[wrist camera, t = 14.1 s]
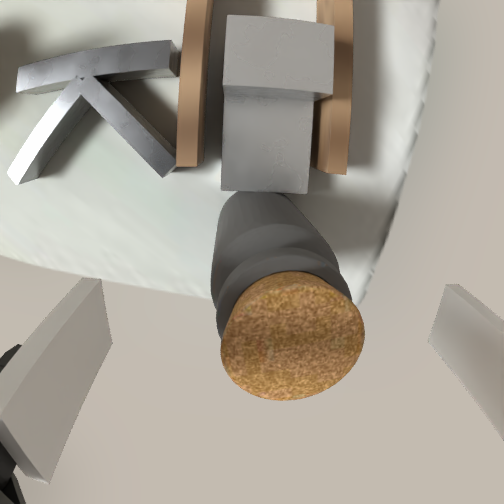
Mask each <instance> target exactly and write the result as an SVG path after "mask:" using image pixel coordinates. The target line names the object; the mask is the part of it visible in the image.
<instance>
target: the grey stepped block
mask: <svg viewBox="0 0 504 504" xmlns="http://www.w3.org/2000/svg"><path fill="white" fill-rule="evenodd" d="M333 74H334V26H332V25H327V24H321V23H315V22H308V21H301V20H294V19H285V18H275V17H264V16H248V15H227V25H226V39H225V54H224V71H223V90H224V116H223V140H222V168H221V191H253V192H277V193H297V194H307V192H308V180H309V167H310V153H311V137H312V120H313V102H314V101H317V100H319V99H322V98H325V97H327V96H330V95H332V94H333Z"/></svg>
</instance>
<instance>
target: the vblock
mask: <svg viewBox="0 0 504 504" xmlns="http://www.w3.org/2000/svg"><path fill="white" fill-rule="evenodd" d="M177 65H178V50H177V48H176V47H175V45H174V44H173V42H172V41H171V40H164V41H151V42H140V43H131V44H123V45H116V46H109V47H102V48H96V49H91V50H85V51H80V52H75V53H71V54H66V55H62V56H57V57H53V58H49V59H45V60H42V61H38V62H34V63H31V64H27V65H24V66H21V67H18V76H17V86H16V92H18V93H27V94H35V95H37V94H42V93H47V92H51V91H56V90H61V89H64V90H63V91H62V93H61V94H60V95H59V97H58V98H57V99H56V100H55V102H54V103H53V104H52V106H51V107H50V108H49V110H48V111H47V112H46V114H45V115H44V116H43V118H42V119H41V121H40V122H39V124H38V125H37V126H36V128H35V129H34V131H33V132H32V134H31V135H30V137H29V138H28V140H27V141H26V143H25V144H24V146H23V148H22V149H21V151H20V152H19V154H18V156H17V157H16V159H15V161H14V162H13V164H12V166H11V167H10V169H9V171H8V174H9V176H10V177H11V178H12V179H13V181H14V182H15V183H16V184H17V185H18V184H22V183H25V182H28V181H31V180H34V179H37V178H38V177H39V175H40V174H41V172H42V171H43V169H44V168H45V166H46V165H47V163H48V162H49V160H50V159H51V157H52V156H53V155H54V153H55V152H56V150H57V149H58V148H59V146H60V145H61V144H62V142H63V141H64V140H65V138H66V137H67V136H68V134H69V133H70V132H71V131H72V129H73V128H74V127H75V125H76V124H77V123H78V122H79V120H80V119H81V118H82V117H83V116H84V114H85V113H86V112H87V111H88V110H89V108H90V107H91V106H93V107H94V108H95V109H96V110H97V111H98V112H99V113H100V114H101V116H102V117H103V118H104V119H105V120H106V121H107V122H108V123H109V124H110V125H111V126H112V127H113V128H114V129H115V130H116V131H117V132H118V133H119V134H120V135H121V136H122V137H123V138H124V139H125V140H126V141H127V142H128V143H129V144H130V145H131V146H132V147H133V148H134V149H135V150H136V151H137V152H138V154H139V155H140V156H141V157H142V158H143V159H144V160H145V161H146V162H147V163H148V164H149V165H150V166H151V167H152V168H153V169H154V170H155V171H156V172H157V173H158V174H159V175H160V176H161V177H162V178H163V177H165V176H166V175H168V174H170V173H171V172H172V171H173V170H174V169H175V168H176V149H175V148H174V147H173V146H172V145H171V144H170V143H169V142H168V141H167V140H166V139H165V138H164V137H163V136H162V135H161V134H160V133H159V132H158V131H157V130H156V129H155V128H154V127H153V126H152V125H151V124H150V123H149V122H148V121H147V120H146V119H145V118H144V117H143V116H142V115H141V114H140V113H139V112H138V111H137V110H136V109H135V108H134V107H133V106H132V105H131V104H130V103H129V102H128V101H127V100H126V99H125V98H124V97H123V96H122V95H121V94H120V93H119V92H118V91H117V90H116V89H115V88H114V87H113V86H112V85H111V84H110V83H109V82H114V81H124V80H134V79H147V78H163V77H177Z"/></svg>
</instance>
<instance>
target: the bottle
mask: <svg viewBox="0 0 504 504" xmlns="http://www.w3.org/2000/svg"><path fill="white" fill-rule="evenodd" d="M211 295H212V299H213V303H214V306H215V308H216V310H217V312H216V313H217V314H216V322H217V329H218V333H219V336H220V338H221V359H222V363H223V366H224V368H225V370H226V372H227V374H228V375H229V377H230V378H231V379H232V381H233V382H235V383H236V384H237V385H238V386H239V387H240V388H242V389H243V390H245V391H247V392H248V393H250V394H253V395H255V396H258V397H260V398H265V399H270V400H280V401H283V400H296V399H302V398H306V397H309V396H313V395H315V394H318V393H320V392H322V391H324V390H326V389H328V388H330V387H331V386H333V385H334V384H336V383H337V382H338V381H340V380H341V379H342V378H343V377H344V376H345V375H346V374H347V373H348V372H349V371H350V370H351V368H352V367H353V366H354V365H355V363H356V361H357V359H358V357H359V355H360V353H361V351H362V347H363V343H364V338H365V337H364V336H365V330H364V323H363V320H362V317H361V315H360V312H359V310H358V309H357V307H356V306H355V305H354V303H353V302H352V297H351V294H350V291H349V288H348V285H347V283H346V282H345V280H344V278H343V277H342V275H341V274H340V271H339V266H338V262H337V259H336V257H335V255H334V253H333V251H332V250H331V248H330V246H329V245H328V244H327V242H326V241H325V240H324V239H323V237H322V236H321V235H320V234H319V232H318V231H317V230H316V229H315V228H314V227H313V225H312V224H311V223H310V222H309V221H308V220H307V219H306V217H305V216H304V215H303V214H302V213H301V212H300V211H299V210H298V209H297V207H296V206H295V205H294V204H293V203H292V202H291V201H290V200H289V199H288V198H287V197H286V196H285V195H284V194H282V193H277V192H253V191H238V192H236V193H235V194H234V195H232V196H231V197H230V198H229V199H228V200H227V202H226V203H225V204H224V206H223V208H222V211H221V213H220V217H219V221H218V227H217V233H216V240H215V247H214V254H213V262H212V271H211Z"/></svg>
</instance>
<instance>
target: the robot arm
mask: <svg viewBox="0 0 504 504" xmlns="http://www.w3.org/2000/svg"><path fill="white" fill-rule="evenodd" d="M428 342H429V344H430V345H431V346H432V347H433V348H434V350H435V351H436V352H437V353H438V354H439V356H440V357H441V358H442V359H443V361H444V362H445V363H446V364H447V366H448V367H449V368H450V369H451V371H452V372H453V373H454V374H455V376H456V377H457V378H458V379H459V381H460V382H461V383H462V385H463V386H464V387H465V388H466V390H467V391H468V392H469V394H470V395H471V396H472V398H473V399H474V400H475V401H476V403H477V404H478V406H479V407H480V408H481V410H482V411H483V412H484V414H485V415H486V416H487V418H488V419H489V421H490V422H491V423H492V425H493V426H494V428H495V429H496V430H497V432H498V433H499V435H500V436H501V438H502V439H503V440H504V321H503V320H502V319H501V318H500V317H499V316H498V315H496V314H495V313H494V312H492V311H491V310H490V309H489V308H488V307H487V306H485V305H484V304H483V303H482V302H480V301H479V300H478V299H477V298H476V297H474V296H473V295H472V294H471V293H469V292H468V291H467V290H465V289H464V288H463V287H462V286H460V285H459V284H450V285H445V289H444V293H443V296H442V299H441V303H440V306H439V309H438V312H437V315H436V318H435V321H434V324H433V327H432V330H431V333H430V336H429V339H428ZM111 345H112V339H111V334H110V329H109V324H108V318H107V313H106V307H105V301H104V295H103V289H102V282H101V279H93V278H82V279H81V280H80V281H79V282H78V283H77V284H76V285H75V286H74V287H73V288H72V289H71V291H70V292H69V293H68V294H67V295H66V296H65V297H64V298H63V299H62V300H61V301H60V303H59V304H58V305H57V306H56V307H55V308H54V309H53V310H52V311H51V312H50V313H49V315H48V316H47V317H46V318H45V319H44V320H43V322H42V323H41V324H40V325H39V326H38V327H37V329H36V330H35V331H34V332H33V333H32V334H31V335H30V337H29V338H28V339H27V340H26V341H25V343H24V344H23V345H19V344H17V345H16V346H14V347H13V348H12V349H10V350H8V351H7V352H5V353H4V355H3V356H2V357H1V358H0V504H26V503H25V500H24V497H23V494H22V492H21V489H20V486H19V483H18V480H17V478H16V476H15V475H14V473H13V471H14V468H15V466H16V464H17V465H18V467H19V468H20V469H21V470H22V472H23V473H24V474H25V475H26V476H28V477H30V478H33V479H35V480H38V481H40V482H43V483H46V484H50V481H51V478H52V476H53V473H54V470H55V468H56V465H57V463H58V460H59V458H60V455H61V453H62V451H63V448H64V446H65V443H66V441H67V439H68V436H69V434H70V432H71V429H72V427H73V425H74V422H75V420H76V418H77V416H78V413H79V411H80V409H81V407H82V404H83V403H84V401H85V398H86V396H87V394H88V392H89V390H90V388H91V385H92V384H93V381H94V379H95V377H96V375H97V373H98V371H99V369H100V367H101V365H102V363H103V361H104V359H105V357H106V355H107V353H108V351H109V349H110V347H111Z"/></svg>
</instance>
